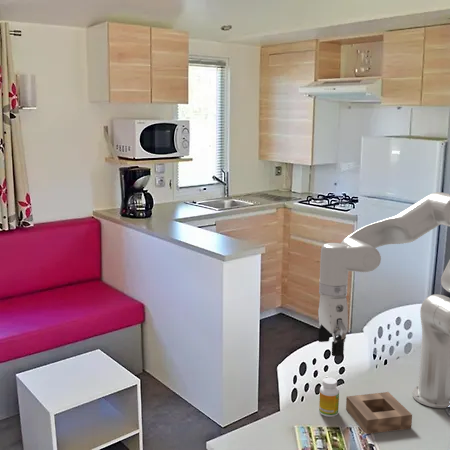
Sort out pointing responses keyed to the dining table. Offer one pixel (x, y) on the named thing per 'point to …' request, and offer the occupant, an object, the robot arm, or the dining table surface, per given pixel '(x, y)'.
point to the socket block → (378, 412)
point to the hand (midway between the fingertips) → (330, 348)
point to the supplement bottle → (329, 397)
